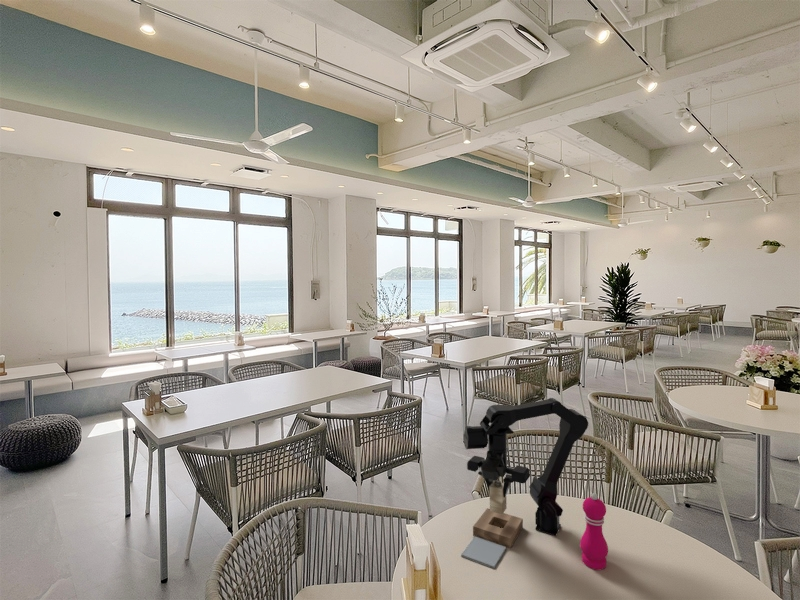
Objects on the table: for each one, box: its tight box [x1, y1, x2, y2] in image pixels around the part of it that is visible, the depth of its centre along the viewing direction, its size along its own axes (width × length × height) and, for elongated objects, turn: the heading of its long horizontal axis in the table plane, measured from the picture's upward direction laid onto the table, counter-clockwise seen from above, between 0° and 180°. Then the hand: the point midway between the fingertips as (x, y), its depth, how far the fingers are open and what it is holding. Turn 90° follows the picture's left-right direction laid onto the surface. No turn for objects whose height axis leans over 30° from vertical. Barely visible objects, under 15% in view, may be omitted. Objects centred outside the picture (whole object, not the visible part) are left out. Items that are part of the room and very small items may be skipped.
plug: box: [488, 480, 507, 514], centre depth 135 cm, size 4×4×9 cm
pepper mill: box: [579, 492, 609, 571], centre depth 120 cm, size 7×7×20 cm
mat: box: [460, 536, 507, 569], centre depth 126 cm, size 10×10×1 cm
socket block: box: [472, 508, 524, 549], centre depth 136 cm, size 12×12×3 cm
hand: (497, 495), depth 135 cm, fingers closed on plug, 4 cm apart
